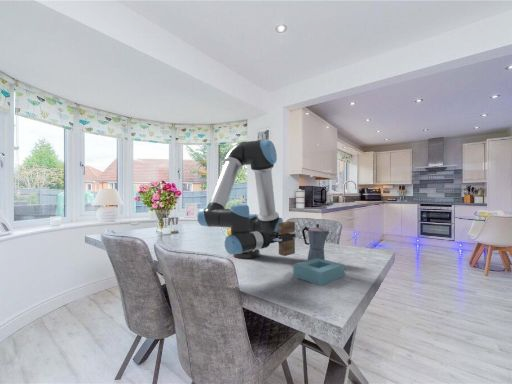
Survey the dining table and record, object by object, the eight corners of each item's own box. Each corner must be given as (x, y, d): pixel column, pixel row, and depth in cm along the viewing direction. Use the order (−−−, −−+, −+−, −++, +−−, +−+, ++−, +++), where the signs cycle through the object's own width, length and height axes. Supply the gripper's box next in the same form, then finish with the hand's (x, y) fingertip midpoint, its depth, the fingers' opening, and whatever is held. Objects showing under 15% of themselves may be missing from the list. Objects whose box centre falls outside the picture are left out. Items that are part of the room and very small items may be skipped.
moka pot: (326, 268, 116) (326, 226, 116) (297, 262, 125) (297, 223, 125) (333, 263, 123) (333, 224, 123) (305, 258, 132) (305, 222, 133)
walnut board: (278, 254, 115) (278, 222, 115) (288, 251, 120) (288, 221, 119) (284, 256, 112) (284, 223, 112) (294, 253, 117) (294, 222, 116)
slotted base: (293, 276, 104) (293, 264, 104) (316, 268, 115) (316, 257, 115) (321, 285, 93) (321, 272, 93) (344, 276, 104) (344, 264, 104)
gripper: (246, 245, 111) (281, 238, 126) (272, 252, 98) (308, 244, 113) (246, 229, 110) (281, 224, 126) (272, 234, 98) (308, 227, 113)
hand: (294, 233), depth 119 cm, fingers closed on walnut board, 4 cm apart
